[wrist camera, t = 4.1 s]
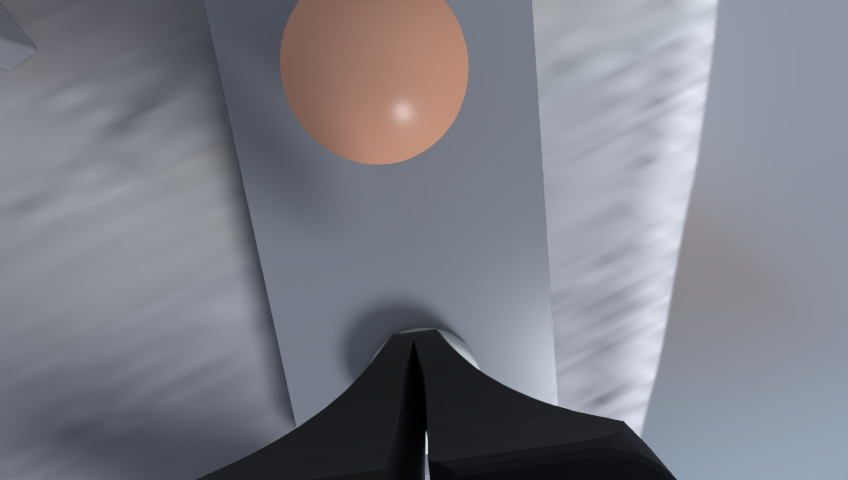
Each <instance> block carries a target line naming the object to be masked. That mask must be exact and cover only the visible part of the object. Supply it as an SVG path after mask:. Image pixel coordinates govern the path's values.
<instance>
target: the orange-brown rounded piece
mask: <svg viewBox="0 0 848 480" xmlns="http://www.w3.org/2000/svg"><path fill="white" fill-rule="evenodd" d="M468 71H469V69H468V54H467V48H466V43H465V39H464V36H463V32H462V30H461V28H460V25H459V23H458V20H457V19H456V17H455V15H454V13H453V12H452V10H451V8H450V7H449V6H448V4H447V3H446V2H445V0H299V2H298V3H297V4H296V6H295V8H294V9H293V11H292V13H291V15H290V17H289V19H288V22H287V24H286V27H285V30H284V33H283V37H282V41H281V49H280V72H281V80H282V84H283V88H284V92H285V95H286V98H287V100H288V103H289V106H290V107H291V109H292V111H293V113H294V115H295V117H296V118H297V120H298V121H299V123H300V124H301V125H302V127H303V128H304V129H305V130H306V131H307V133H308V134H309V135H310V136H311V137H312V138H313V139H314V140H316V141H317V142H318V143H319V144H320V145H321V146H323V147H324V148H326V149H328V150H329V151H331V152H332V153H334V154H336V155H338V156H340V157H342V158H345V159H348V160H351V161H354V162H359V163H364V164H375V165H379V164H392V163H397V162H402V161H405V160H407V159H410V158H412V157H414V156H416V155H418V154H420V153H422V152H424V151H425V150H426V149H428V148H429V147H431V146H432V145H433V144H434V143H436V142H437V141H438V140H439V139H440V138H441V137H442V136H443V135H444V134H445V132H446V131H447V130H448V129H449V127H450V126H451V124H452V123H453V121H454V120H455V118H456V116H457V114H458V112H459V110H460V108H461V105H462V102H463V100H464V97H465V93H466V88H467V83H468Z"/></svg>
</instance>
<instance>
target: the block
mask: <svg viewBox="0 0 848 480" xmlns="http://www.w3.org/2000/svg"><path fill="white" fill-rule="evenodd" d="M298 2H299V0H204V5H205V10H206V14H207V19H208V23H209V28H210V33H211V37H212V42H213V46H214V51H215V56H216V60H217V65H218V69H219V74H220V79H221V83H222V88H223V92H224V97H225V101H226V106H227V111H228V115H229V120H230V124H231V129H232V134H233V138H234V143H235V147H236V152H237V157H238V161H239V166H240V170H241V175H242V180H243V184H244V189H245V193H246V198H247V203H248V207H249V212H250V216H251V221H252V225H253V230H254V235H255V239H256V244H257V248H258V253H259V258H260V262H261V267H262V271H263V276H264V281H265V285H266V290H267V294H268V299H269V304H270V308H271V313H272V317H273V322H274V327H275V331H276V336H277V340H278V345H279V349H280V354H281V359H282V363H283V368H284V372H285V377H286V382H287V386H288V391H289V395H290V400H291V405H292V409H293V414H294V418H295V423H296V428H297V427H299V426H300V425H302V424H303V423H305V422H306V421H307V420H309V419H310V418H312V417H313V416H315V415H316V414H317V413H319V412H320V411H322V410H323V409H324V408H326V407H327V406H328V405H329V404H330V403H332V402H333V401H334V400H335V399H336V398H338V397H339V396H340V395H341V394H342V393H343V392H344V391H345V390H346V389H347V388H349V387H350V386H351V385H352V384H353V382H354V381H355V380H356V379H357V378H358V377H359V376H360V375H361V374H362V373H363V372H364V370H365V369H366V368H367V367H368V366H369V365H370V362H371V360H372V358H373V356H374V354H375V353H376V351H377V350H378V349H379V348H380V347H381V345H382V344H383V343H385V342H386V341H387V340H388V339H389V338H390V337H391V336H392V335H394V334H398V333H400V332H403V331H406V330H409V329H414V328H423V327H426V328H436V329H440V330H444V331H447V332H449V333H451V334H453V335H455V336H456V337H458V338H459V339H461V340H462V341H463V342H464V343H465V344H466V345H467V346H468V347H469V348H470V350H471V351H472V353H473V354H474V356H475V358H476V361H477V364H478V366H479V369H480V371H481V372H483V373H485V374H486V375H488V376H489V377H491V378H493V379H495V380H496V381H498V382H500V383H502V384H503V385H505V386H507V387H509V388H511V389H513V390H516V391H518V392H520V393H523V394H525V395H527V396H530V397H532V398H535V399H537V400H540V401H543V402H546V403H549V404H552V405H555V406H558V402H557V386H556V370H555V355H554V339H553V324H552V308H551V292H550V277H549V261H548V246H547V230H546V215H545V199H544V183H543V168H542V152H541V137H540V121H539V106H538V90H537V74H536V59H535V43H534V28H533V12H532V0H445V2H446V3H447V4H448V6H449V7H450V8H451V10H452V12H453V13H454V15H455V17H456V19H457V20H458V23H459V25H460V28H461V30H462V32H463V36H464V39H465V43H466V48H467V54H468V69H469V71H468V83H467V88H466V93H465V97H464V100H463V102H462V105H461V108H460V110H459V112H458V114H457V116H456V118H455V120H454V121H453V123H452V124H451V126H450V127H449V129H448V130H447V131H446V132H445V134H444V135H443V136H442V137H441V138H440V139H439V140H438V141H437V142H436V143H434V144H433V145H432V146H431V147H429V148H428V149H426V150H425V151H424V152H422V153H420V154H418V155H416V156H414V157H412V158H410V159H407V160H405V161H402V162H397V163H392V164H379V165H375V164H364V163H359V162H354V161H351V160H348V159H345V158H342V157H340V156H338V155H336V154H334V153H332V152H331V151H329V150H328V149H326V148H324V147H323V146H321V145H320V144H319V143H318V142H317V141H316V140H314V139H313V138H312V137H311V136H310V135H309V134H308V133H307V131H306V130H305V129H304V128H303V127H302V125H301V124H300V123H299V121H298V120H297V118H296V117H295V115H294V113H293V111H292V109H291V107H290V106H289V103H288V100H287V98H286V95H285V92H284V88H283V84H282V80H281V72H280V49H281V41H282V37H283V33H284V30H285V27H286V24H287V22H288V19H289V17H290V15H291V13H292V11H293V9H294V8H295V6H296V4H297V3H298ZM425 474H429V467H428V454H425Z"/></svg>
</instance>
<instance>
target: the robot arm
mask: <svg viewBox="0 0 848 480" xmlns="http://www.w3.org/2000/svg"><path fill="white" fill-rule="evenodd" d="M426 433H427V438H428V467H429V474H430V480H677V479H676V478H675V477H674V476H673V475H672V474H671V472H670V471H669V470H668V469H667V468H666V467H665V465H664V464H663V463H662V462H661V460H660V459H659V458H658V457H657V456H656V455H655V454H654V452H653V451H652V450H651V449H650V448H649V447H648V446H647V444H646V443H645V442H644V441H643V440H642V439H641V438H640V437H639V436H638V435H637V434H636V433H635V432H634V431H633V430H632V429H631V428H630V427H629V426H628V425H627V424H626V423H625V422H624V421H619V420H614V419H610V418H605V417H600V416H595V415H590V414H585V413H580V412H576V411H572V410H569V409H565V408H562V407H559V406H555V405H552V404H549V403H546V402H543V401H540V400H537V399H535V398H532V397H530V396H527V395H525V394H523V393H520V392H518V391H516V390H513V389H511V388H509V387H507V386H505V385H503V384H502V383H500V382H498V381H496V380H495V379H493V378H491V377H489V376H488V375H486V374H485V373H483V372H481V371H480V370H479V369H477V368H476V367H475V366H473V365H472V364H471V363H470V362H468V361H467V360H466V359H465V358H464V357H463V356H462V355H461V354H459V353H458V352H457V351H456V350H455V349H454V348H453V347H452V346H451V345H450V344H449V343H448V342H447V340H446V339H445V338H444V337H443V336H442V334H441V333H440V332H439V331H438V330H436V329H431V330H424V331H416V332H409V333H401V334H394V335H392V336H391V337H390V338H389V340H388V341H387V342H386V343H385V345H384V346H383V348H382V349H381V350H380V352H379V353H378V354H377V356H376V357H375V358H374V360H373V361H372V362H371V363H370V365H369V366H368V367H367V368H366V369H365V370H364V372H363V373H362V374H361V375H360V376H359V377H358V378H357V379H356V380H355V381H354V382H353V384H352V385H351V386H350V387H349V388H347V389H346V390H345V391H344V392H343V393H342V394H341V395H340V396H339V397H338V398H336V399H335V400H334V401H333V402H332V403H330V404H329V405H328V406H327V407H326V408H324V409H323V410H322V411H320V412H319V413H317V414H316V415H315V416H313V417H312V418H310V419H309V420H307V421H306V422H305V423H303V424H302V425H300V426H299V427H297V428H296V429H295V430H293V431H291V432H290V433H288V434H286V435H285V436H283V437H281V438H280V439H278V440H276V441H275V442H273V443H271V444H269V445H268V446H266V447H264V448H262V449H260V450H258V451H257V452H255V453H253V454H251V455H249V456H247V457H245V458H243V459H241V460H239V461H236V462H234V463H232V464H230V465H228V466H226V467H223V468H221V469H219V470H217V471H215V472H212V473H210V474H208V475H206V476H204V477H201V478H199V479H197V480H425V454H426Z"/></svg>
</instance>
